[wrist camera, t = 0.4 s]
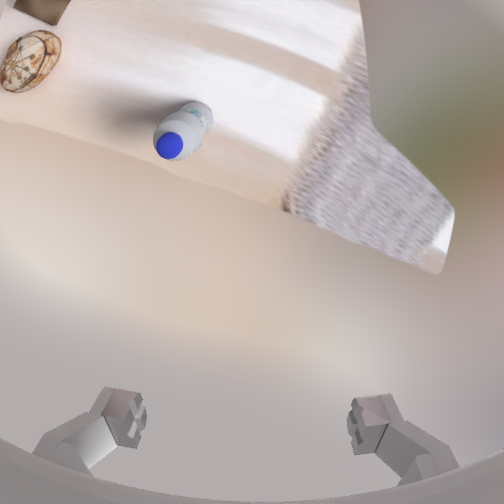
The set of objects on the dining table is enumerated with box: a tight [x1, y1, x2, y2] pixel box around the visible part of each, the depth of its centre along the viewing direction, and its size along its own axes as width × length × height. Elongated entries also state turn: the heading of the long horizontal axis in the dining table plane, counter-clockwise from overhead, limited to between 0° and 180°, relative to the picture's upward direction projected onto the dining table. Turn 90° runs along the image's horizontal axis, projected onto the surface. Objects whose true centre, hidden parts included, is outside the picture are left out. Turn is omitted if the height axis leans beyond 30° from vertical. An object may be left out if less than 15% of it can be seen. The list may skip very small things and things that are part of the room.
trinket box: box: [0, 30, 62, 93], centre depth 39 cm, size 13×15×8 cm
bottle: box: [153, 101, 213, 161], centre depth 44 cm, size 7×7×20 cm
